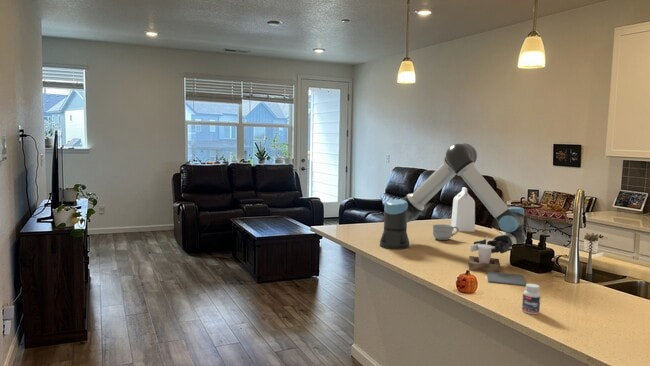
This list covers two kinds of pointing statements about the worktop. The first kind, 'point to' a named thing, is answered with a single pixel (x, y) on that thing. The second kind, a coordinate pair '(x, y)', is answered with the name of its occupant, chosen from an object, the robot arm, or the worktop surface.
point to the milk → (463, 212)
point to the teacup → (443, 231)
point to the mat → (506, 278)
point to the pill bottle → (531, 299)
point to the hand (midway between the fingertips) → (479, 250)
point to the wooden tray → (484, 265)
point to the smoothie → (484, 252)
